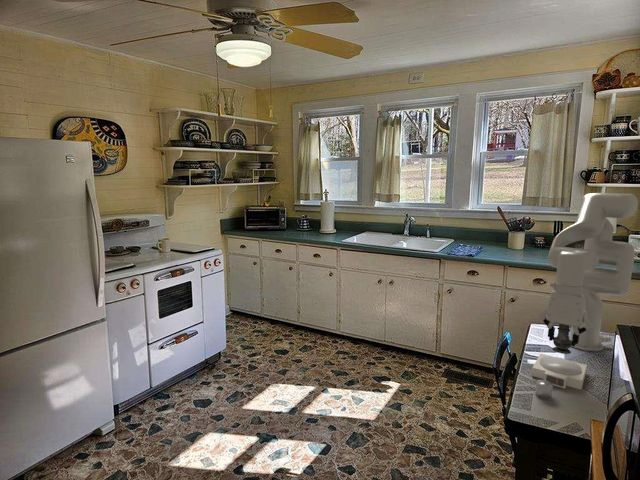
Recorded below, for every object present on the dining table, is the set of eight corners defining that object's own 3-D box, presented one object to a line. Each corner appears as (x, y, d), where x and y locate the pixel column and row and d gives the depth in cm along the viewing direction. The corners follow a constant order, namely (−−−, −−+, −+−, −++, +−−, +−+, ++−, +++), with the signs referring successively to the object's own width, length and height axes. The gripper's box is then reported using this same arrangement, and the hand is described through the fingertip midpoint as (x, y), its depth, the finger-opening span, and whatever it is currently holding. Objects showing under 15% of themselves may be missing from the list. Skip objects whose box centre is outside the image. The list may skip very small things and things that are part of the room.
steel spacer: (546, 391, 124) (547, 379, 123) (554, 399, 120) (556, 387, 119) (532, 391, 124) (533, 379, 123) (540, 399, 120) (541, 387, 119)
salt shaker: (575, 355, 130) (579, 319, 128) (555, 353, 131) (558, 318, 130) (567, 347, 136) (571, 313, 134) (548, 346, 137) (552, 312, 135)
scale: (539, 361, 145) (540, 351, 144) (586, 373, 136) (587, 363, 136) (529, 379, 132) (530, 368, 131) (580, 393, 123) (581, 382, 123)
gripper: (535, 286, 134) (530, 338, 136) (597, 297, 122) (591, 353, 125) (542, 282, 139) (537, 332, 142) (602, 292, 127) (595, 346, 130)
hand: (562, 341), depth 133 cm, fingers closed on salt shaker, 5 cm apart
